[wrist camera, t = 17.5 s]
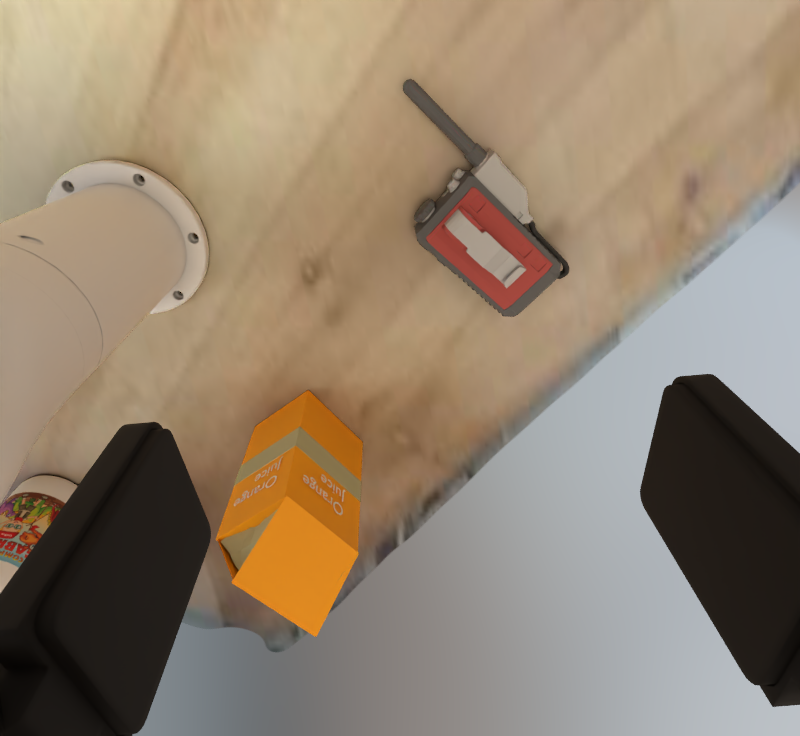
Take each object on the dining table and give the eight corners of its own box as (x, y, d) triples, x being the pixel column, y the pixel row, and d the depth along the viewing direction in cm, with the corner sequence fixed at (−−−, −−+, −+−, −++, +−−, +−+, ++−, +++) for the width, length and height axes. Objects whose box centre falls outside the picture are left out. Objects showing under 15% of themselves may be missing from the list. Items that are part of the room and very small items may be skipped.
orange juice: (310, 475, 56) (279, 656, 39) (253, 426, 52) (191, 603, 35) (364, 441, 53) (357, 617, 36) (309, 388, 50) (271, 557, 32)
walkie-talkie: (583, 247, 43) (414, 68, 36) (603, 264, 39) (418, 68, 32) (508, 317, 46) (338, 166, 39) (519, 339, 42) (334, 176, 35)
